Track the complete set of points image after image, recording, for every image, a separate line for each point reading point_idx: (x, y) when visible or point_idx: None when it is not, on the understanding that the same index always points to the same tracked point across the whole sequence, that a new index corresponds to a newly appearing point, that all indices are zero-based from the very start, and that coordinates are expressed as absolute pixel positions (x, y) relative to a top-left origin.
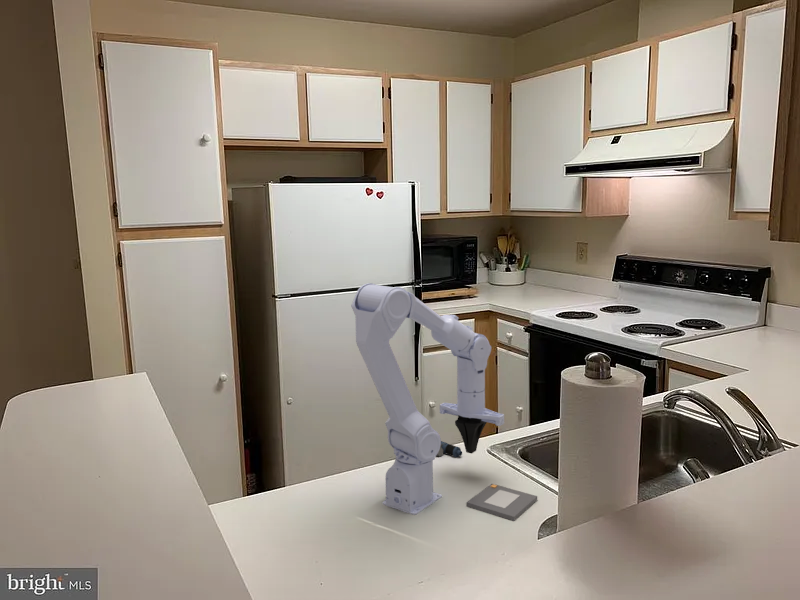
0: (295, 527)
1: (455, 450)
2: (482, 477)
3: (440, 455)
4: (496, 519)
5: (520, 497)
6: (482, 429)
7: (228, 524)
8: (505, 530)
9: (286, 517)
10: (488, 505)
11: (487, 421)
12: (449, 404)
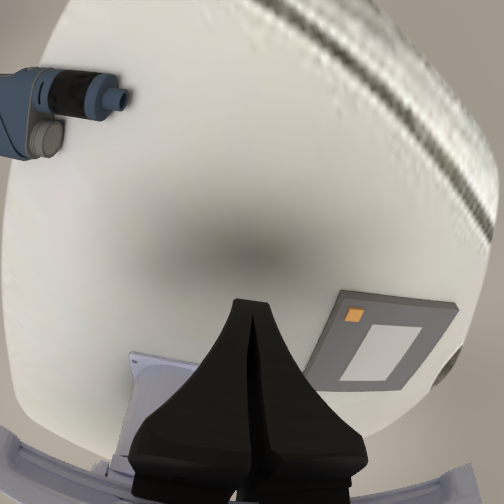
0: (109, 442)
1: (96, 115)
2: (292, 236)
3: (60, 137)
4: (367, 391)
5: (422, 331)
6: (319, 401)
7: (61, 436)
8: (382, 404)
9: (82, 430)
10: (350, 383)
11: (374, 500)
12: (2, 485)
